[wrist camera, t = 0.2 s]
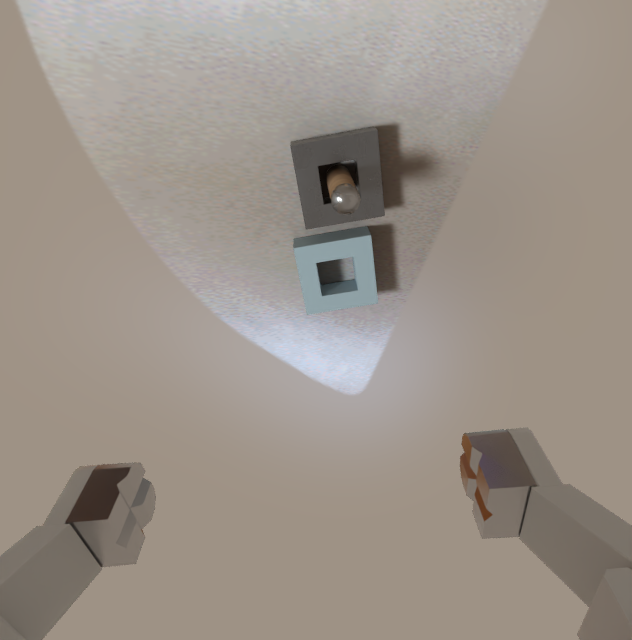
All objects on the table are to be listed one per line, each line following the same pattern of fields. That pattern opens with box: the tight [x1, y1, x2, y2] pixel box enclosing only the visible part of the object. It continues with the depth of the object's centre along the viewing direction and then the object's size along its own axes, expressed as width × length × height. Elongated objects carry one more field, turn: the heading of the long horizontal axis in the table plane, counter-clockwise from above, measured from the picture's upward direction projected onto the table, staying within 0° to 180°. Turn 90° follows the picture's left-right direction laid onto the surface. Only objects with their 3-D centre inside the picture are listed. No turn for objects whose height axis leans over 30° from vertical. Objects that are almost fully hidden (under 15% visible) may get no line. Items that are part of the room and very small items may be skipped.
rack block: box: [293, 226, 378, 315], centre depth 58 cm, size 10×10×4 cm
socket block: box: [290, 127, 385, 229], centre depth 52 cm, size 10×10×3 cm
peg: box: [326, 164, 361, 215], centre depth 48 cm, size 3×3×11 cm
